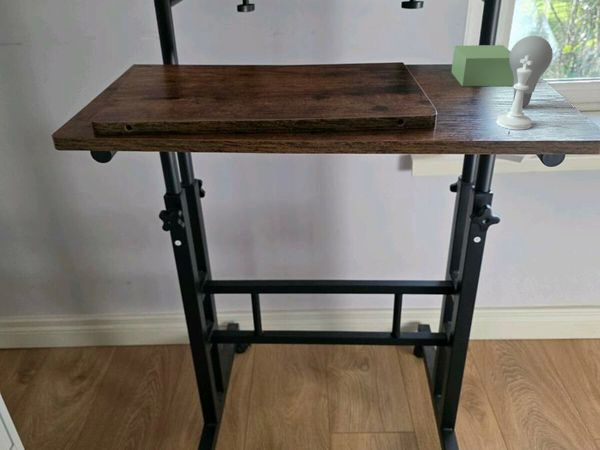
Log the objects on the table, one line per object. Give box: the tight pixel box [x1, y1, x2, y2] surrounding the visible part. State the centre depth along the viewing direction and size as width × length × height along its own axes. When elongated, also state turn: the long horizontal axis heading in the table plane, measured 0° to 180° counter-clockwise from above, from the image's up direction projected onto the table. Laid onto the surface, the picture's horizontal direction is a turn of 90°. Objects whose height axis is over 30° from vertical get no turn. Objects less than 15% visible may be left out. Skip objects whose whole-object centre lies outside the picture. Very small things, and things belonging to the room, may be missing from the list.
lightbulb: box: [509, 35, 554, 108], centre depth 83 cm, size 6×6×11 cm
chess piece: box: [496, 55, 533, 131], centre depth 77 cm, size 5×5×10 cm
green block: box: [450, 44, 514, 87], centre depth 98 cm, size 9×9×5 cm
